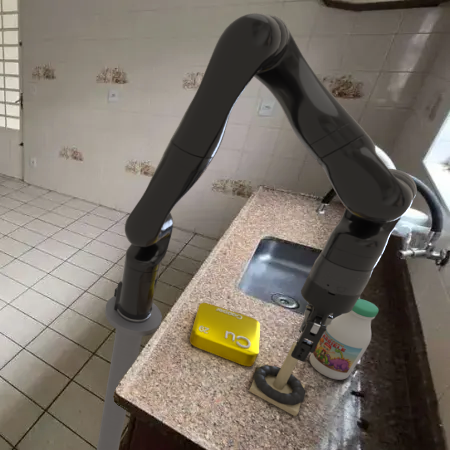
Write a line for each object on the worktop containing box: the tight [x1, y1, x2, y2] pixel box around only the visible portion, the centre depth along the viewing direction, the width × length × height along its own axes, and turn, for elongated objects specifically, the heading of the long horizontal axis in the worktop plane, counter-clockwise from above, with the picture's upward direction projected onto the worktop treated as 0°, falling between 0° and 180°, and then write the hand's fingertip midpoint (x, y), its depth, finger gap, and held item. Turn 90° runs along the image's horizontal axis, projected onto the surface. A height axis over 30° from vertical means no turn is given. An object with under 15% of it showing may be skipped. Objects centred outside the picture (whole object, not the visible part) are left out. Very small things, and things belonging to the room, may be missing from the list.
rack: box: [248, 341, 306, 417], centre depth 77 cm, size 9×9×14 cm
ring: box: [252, 364, 306, 405], centre depth 79 cm, size 10×10×2 cm
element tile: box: [189, 302, 261, 367], centre depth 93 cm, size 15×15×5 cm
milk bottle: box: [309, 298, 379, 381], centre depth 81 cm, size 8×8×20 cm
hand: (301, 345), depth 70 cm, fingers open, 8 cm apart
